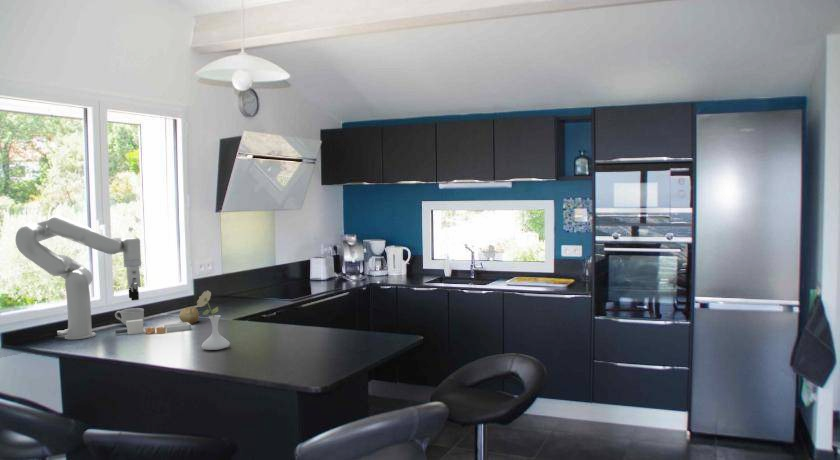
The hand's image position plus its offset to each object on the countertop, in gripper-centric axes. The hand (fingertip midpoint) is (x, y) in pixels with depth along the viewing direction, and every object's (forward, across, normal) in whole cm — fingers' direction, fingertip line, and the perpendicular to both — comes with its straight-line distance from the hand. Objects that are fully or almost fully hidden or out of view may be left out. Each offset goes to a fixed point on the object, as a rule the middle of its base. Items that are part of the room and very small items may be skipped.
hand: (133, 298), depth 299 cm
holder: (+16, -5, -18) cm, 25 cm away
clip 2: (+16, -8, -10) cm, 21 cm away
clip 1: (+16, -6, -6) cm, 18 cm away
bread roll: (+17, +12, -27) cm, 34 cm away
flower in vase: (+17, -60, -23) cm, 67 cm away
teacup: (+17, +24, 0) cm, 29 cm away
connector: (+16, 0, +3) cm, 17 cm away
